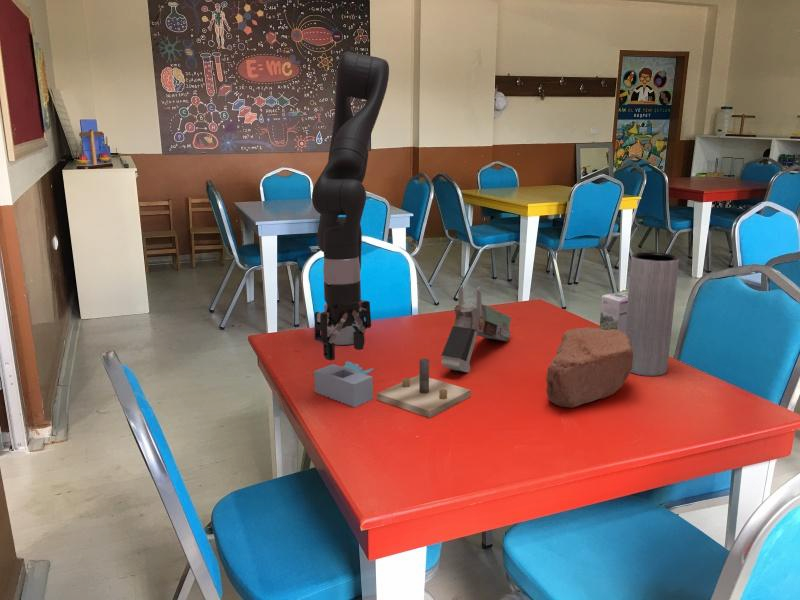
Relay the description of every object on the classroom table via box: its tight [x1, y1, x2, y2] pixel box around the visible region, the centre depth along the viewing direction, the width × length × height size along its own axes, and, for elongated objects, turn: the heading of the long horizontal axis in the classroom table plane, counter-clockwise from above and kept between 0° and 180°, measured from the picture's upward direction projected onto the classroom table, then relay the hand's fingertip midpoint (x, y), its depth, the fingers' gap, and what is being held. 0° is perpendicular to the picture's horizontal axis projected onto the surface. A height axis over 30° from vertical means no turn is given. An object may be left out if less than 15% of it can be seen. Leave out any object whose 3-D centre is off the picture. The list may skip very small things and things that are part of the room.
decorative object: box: [342, 360, 374, 375], centre depth 153 cm, size 12×1×10 cm
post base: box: [376, 358, 472, 419], centre depth 137 cm, size 14×14×8 cm
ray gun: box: [440, 284, 512, 373], centre depth 163 cm, size 7×32×20 cm, turn 152°
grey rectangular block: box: [313, 363, 374, 408], centre depth 139 cm, size 12×6×5 cm, turn 49°
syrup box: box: [599, 292, 628, 333], centre depth 165 cm, size 6×6×14 cm
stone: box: [545, 326, 633, 409], centre depth 138 cm, size 16×26×15 cm, turn 145°
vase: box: [625, 251, 680, 377], centre depth 151 cm, size 10×10×27 cm
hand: (344, 354), depth 137 cm, fingers open, 8 cm apart
